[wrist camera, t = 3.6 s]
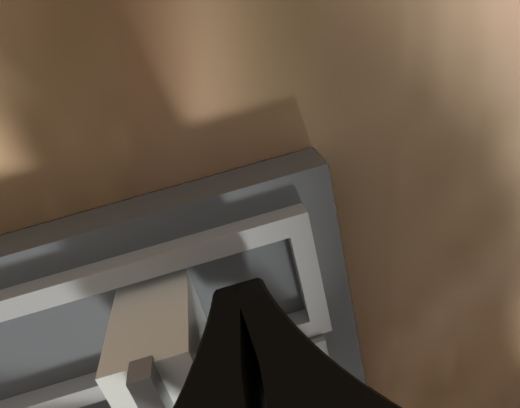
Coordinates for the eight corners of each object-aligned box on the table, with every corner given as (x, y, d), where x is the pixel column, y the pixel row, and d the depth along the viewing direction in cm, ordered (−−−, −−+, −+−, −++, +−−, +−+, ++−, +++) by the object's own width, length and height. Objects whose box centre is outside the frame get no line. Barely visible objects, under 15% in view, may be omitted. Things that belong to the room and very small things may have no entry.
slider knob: (212, 333, 13) (222, 446, 10) (147, 353, 13) (135, 474, 9) (185, 264, 12) (187, 365, 8) (115, 285, 12) (88, 395, 8)
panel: (361, 410, 18) (394, 484, 15) (-15, 529, 17) (-52, 629, 14) (312, 147, 13) (349, 186, 10) (-235, 301, 12) (-363, 391, 9)
